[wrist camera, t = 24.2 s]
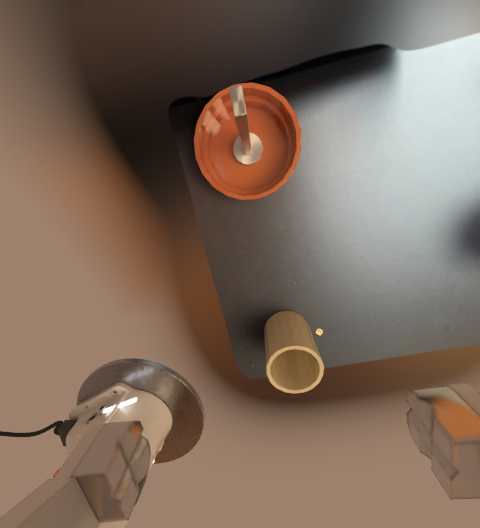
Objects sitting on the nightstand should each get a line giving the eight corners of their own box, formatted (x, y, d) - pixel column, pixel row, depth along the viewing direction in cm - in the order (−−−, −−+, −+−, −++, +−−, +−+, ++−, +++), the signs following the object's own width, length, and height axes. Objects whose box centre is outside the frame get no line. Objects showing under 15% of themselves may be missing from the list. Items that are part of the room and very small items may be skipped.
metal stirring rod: (236, 168, 40) (212, 144, 18) (231, 137, 39) (197, 70, 16) (264, 162, 40) (276, 130, 17) (260, 131, 38) (266, 53, 16)
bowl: (224, 211, 43) (219, 215, 37) (188, 123, 39) (176, 113, 34) (306, 176, 40) (315, 175, 35) (275, 80, 37) (279, 61, 31)
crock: (273, 355, 50) (277, 399, 40) (257, 318, 48) (258, 355, 38) (314, 342, 49) (330, 385, 38) (300, 304, 47) (313, 338, 36)
